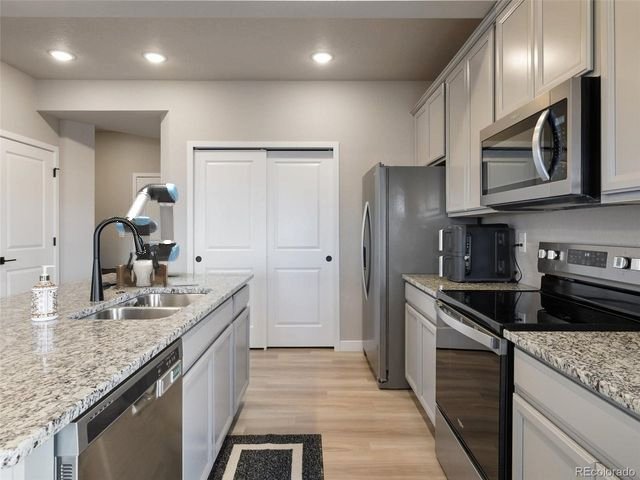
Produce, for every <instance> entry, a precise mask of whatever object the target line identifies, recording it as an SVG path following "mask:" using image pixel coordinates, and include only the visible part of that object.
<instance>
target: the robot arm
mask: <svg viewBox="0 0 640 480" xmlns="http://www.w3.org/2000/svg"><path fill="white" fill-rule="evenodd" d="M178 200H179V191H178V188H177V186H176V184H174V183H148V184H146V185H144V186H143V187H141V188H140V189H139V190H138V191H137V192H136V194H135V199H134V201H133V203H132V205H131V206H130V208H129V210H128V212H127V214H126V215H125V217H124V219H127V220H129V221H130V222H131V223H133V224H134V225H135V226H136V228H137V230H138V233H139V235H140V236H141V238H142V240H143V242H144V247H145V250H146V253H144V254H139V253H137V252H136V251H134V252H132V251H131V252H129V258H128V262H127V266H126V269H129V270H130V276H132V281H134V270H132V269H133V264H134V262H133V263H132V260H133V257H134V256H136V258H135V261H138V260H148V261H149V260H152V264H153V268H154V269H153V281H154V280H155V275H156V274H157V269H158V268H160V265H159V264H160V262H161V263H162V262H168V263H170V262H175V261H177V260H178V257H179V255H180V246H179V245H178V244H177V241H176V240H175V232H174V231H175V230H174V229H175V228H174V224H175V223H174V206H175V205H176V201H178ZM152 201H156V202H157V204H158V205H159V221H160V222H159V223H160V224H159V225H160V226H159V225H158V223H157V222H156V221H154V220H151V217H149V216H142V214H143V212H144V211H145V209H146V207H147V206H148V204H150V202H152ZM159 227H160V228H159ZM115 228H116V230H117V232H118V233H123V234H124V233H125V234H133V233H132V231H131V229H130V228H129V227H128V226H127V225H125V224H122V223H117V222H116V225H115ZM158 229H160V240H159V241H158V244H157V243H156V242H151V234H153V233H155V232H157V231H158ZM150 242H151V243H150ZM130 264H132V266H131V267H129V266H130ZM154 264H156V265H157V267H156V266H155V265H154Z"/></svg>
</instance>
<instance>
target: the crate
mask: <svg viewBox="0 0 640 480" xmlns="http://www.w3.org/2000/svg"><path fill="white" fill-rule="evenodd" d="M127 264H128V263H127ZM127 264H120V265H116V266H115V268H116V270H115V272H116V273H115V274H116V281H115V282H116V283H115V286H116V290H118V289H119V288H120V289H121V288H123V287H124V286H126V285H127V286H128V285H130V284H133V285H136V283H137V276H136V274H135V272H134V281H132V276H130V270H129V269H126V266H127ZM132 264H133V263H130V266H129V267H131V266H132ZM154 265H155V266H156V267H157V265H156V264H154ZM159 265H160V268H158V269H157V274H156V275H155V280H154V281H153V270H152V272H151V274H150V284H151V285H153V284H156V283H158V284H162V287H163V286H166V287H167V286H168V283H169V282H168V281H169V280H168V277H169V276H168V275H169V274H168V263H159ZM153 269H154V268H153ZM132 270H134V269H132ZM124 284H126V285H124ZM156 285H157V284H156ZM130 286H131V285H130ZM120 289H119V290H120Z"/></svg>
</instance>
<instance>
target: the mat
mask: <svg viewBox="0 0 640 480" xmlns="http://www.w3.org/2000/svg"><path fill="white" fill-rule="evenodd" d="M193 285H197V286H199V281H198V280H195V281H172V282H171V284H170V287H171V286H174V287H191V286H193Z"/></svg>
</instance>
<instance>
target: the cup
mask: <svg viewBox="0 0 640 480" xmlns="http://www.w3.org/2000/svg"><path fill="white" fill-rule="evenodd" d="M135 260H136V259H135ZM135 260H133V263H134V264H133V263H132V264H133V269H134V272H135V274H136V276H137V283H136V284H135V287H142V288H143V287H149V286H152V284H150V274H151V272H152V270H153V264H152V260H149V261H148V260H138V261H135Z"/></svg>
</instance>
